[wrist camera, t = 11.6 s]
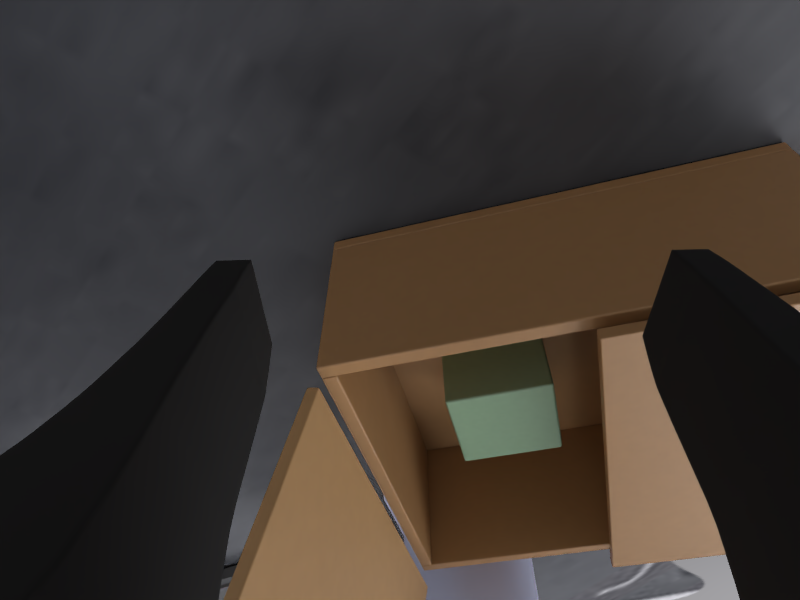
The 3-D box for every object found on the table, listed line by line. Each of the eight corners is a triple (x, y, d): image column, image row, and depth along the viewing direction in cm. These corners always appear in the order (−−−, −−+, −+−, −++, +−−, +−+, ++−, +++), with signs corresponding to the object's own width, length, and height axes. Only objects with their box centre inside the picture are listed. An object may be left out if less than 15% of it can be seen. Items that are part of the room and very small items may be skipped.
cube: (544, 373, 26) (562, 447, 23) (457, 387, 27) (464, 462, 24) (534, 309, 24) (554, 384, 21) (439, 327, 25) (444, 402, 22)
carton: (419, 448, 31) (424, 589, 26) (334, 241, 22) (312, 389, 17) (738, 399, 28) (819, 544, 23) (785, 141, 20) (936, 277, 14)
